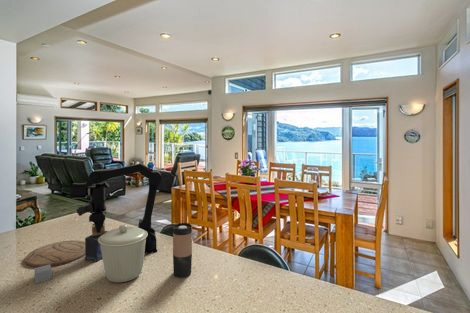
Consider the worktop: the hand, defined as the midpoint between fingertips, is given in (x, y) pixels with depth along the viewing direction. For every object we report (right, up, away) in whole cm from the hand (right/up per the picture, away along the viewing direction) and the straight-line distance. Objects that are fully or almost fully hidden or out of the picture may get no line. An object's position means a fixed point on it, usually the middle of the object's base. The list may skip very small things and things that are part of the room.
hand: (98, 230), depth 119 cm
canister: (+18, -14, -15) cm, 28 cm away
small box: (0, -13, +1) cm, 13 cm away
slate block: (-12, -14, -18) cm, 26 cm away
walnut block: (0, -1, 0) cm, 1 cm away
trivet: (-20, -12, +2) cm, 23 cm away
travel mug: (+41, -14, -13) cm, 46 cm away
